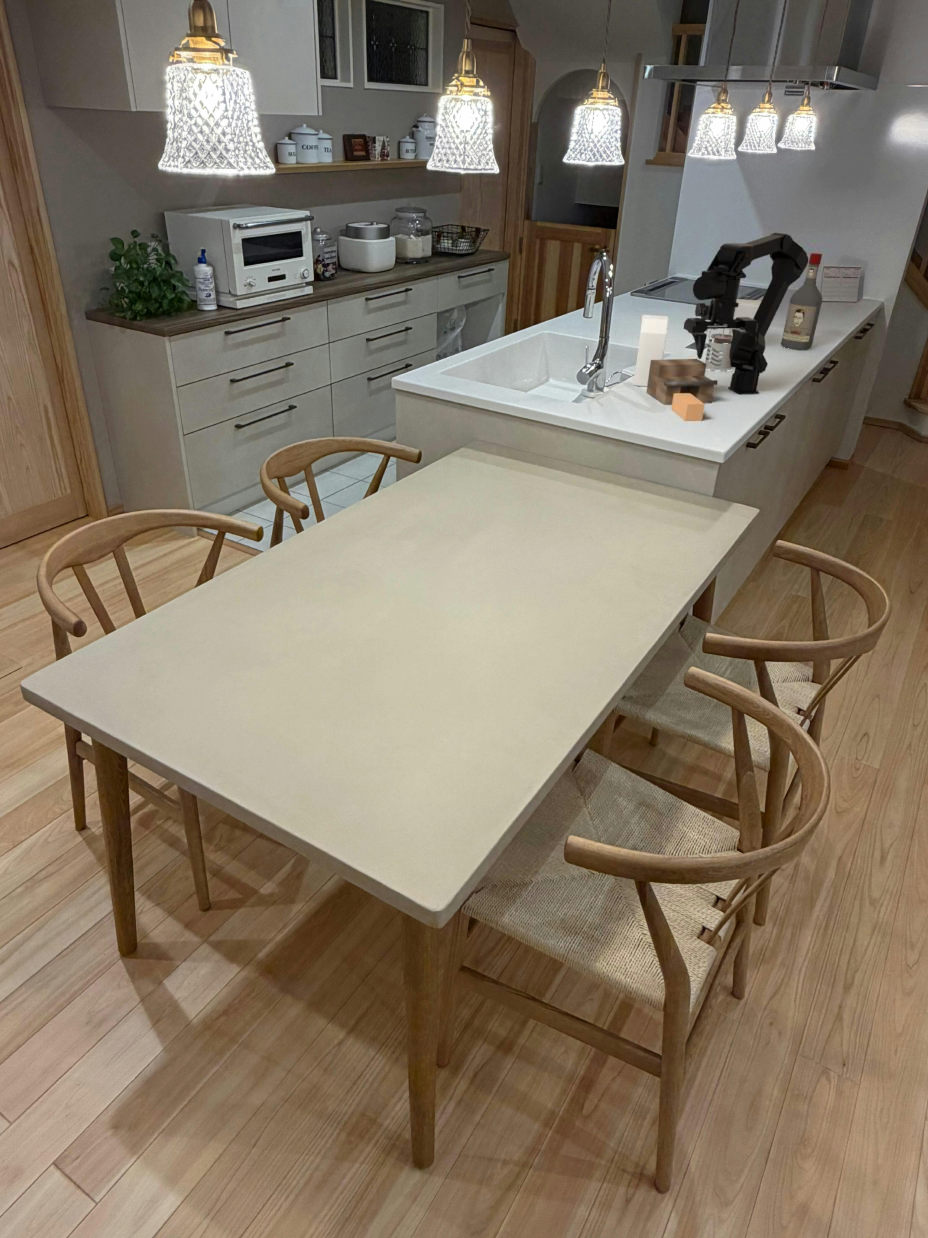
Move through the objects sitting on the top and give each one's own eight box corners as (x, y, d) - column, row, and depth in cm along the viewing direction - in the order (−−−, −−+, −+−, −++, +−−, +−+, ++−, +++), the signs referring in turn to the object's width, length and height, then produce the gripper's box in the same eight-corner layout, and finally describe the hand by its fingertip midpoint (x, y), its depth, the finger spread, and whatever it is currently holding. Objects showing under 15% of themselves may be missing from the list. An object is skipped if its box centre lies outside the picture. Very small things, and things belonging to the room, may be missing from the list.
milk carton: (658, 387, 241) (668, 318, 232) (633, 385, 242) (642, 316, 233) (658, 381, 247) (668, 313, 238) (634, 379, 248) (643, 312, 239)
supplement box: (755, 350, 286) (764, 304, 279) (728, 348, 288) (736, 302, 280) (752, 345, 294) (761, 299, 286) (726, 343, 295) (734, 298, 288)
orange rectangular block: (687, 410, 223) (690, 393, 221) (701, 421, 215) (704, 404, 212) (671, 410, 223) (673, 393, 220) (684, 421, 214) (687, 404, 212)
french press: (715, 373, 258) (731, 286, 245) (690, 364, 267) (704, 280, 254) (739, 370, 262) (756, 284, 249) (714, 361, 271) (728, 278, 258)
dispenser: (692, 390, 239) (698, 358, 235) (713, 403, 228) (719, 370, 224) (644, 392, 236) (649, 359, 232) (664, 405, 225) (669, 371, 221)
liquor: (786, 342, 298) (806, 251, 283) (812, 346, 294) (834, 253, 279) (778, 347, 292) (798, 253, 277) (805, 351, 288) (826, 256, 272)
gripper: (743, 291, 228) (732, 350, 236) (679, 291, 224) (670, 351, 232) (764, 298, 218) (752, 359, 226) (698, 299, 215) (688, 361, 223)
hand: (715, 358), depth 227 cm, fingers open, 9 cm apart
